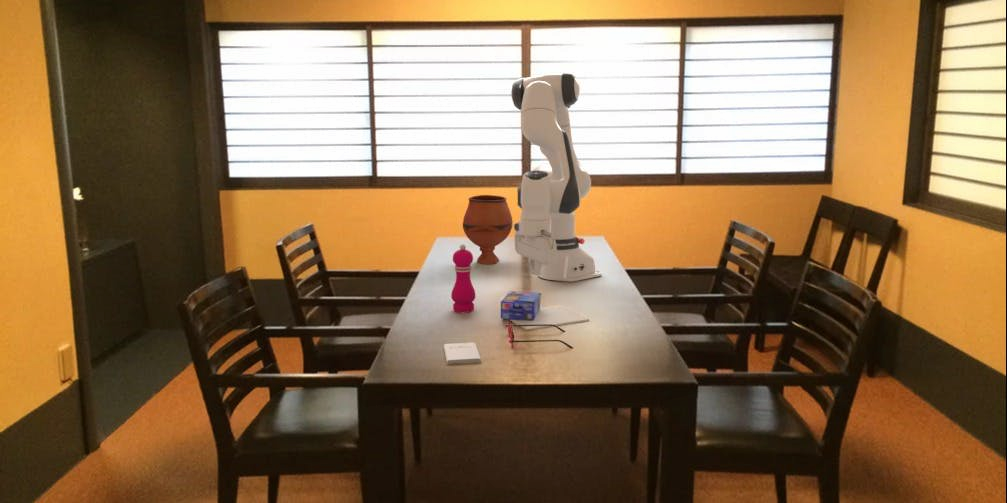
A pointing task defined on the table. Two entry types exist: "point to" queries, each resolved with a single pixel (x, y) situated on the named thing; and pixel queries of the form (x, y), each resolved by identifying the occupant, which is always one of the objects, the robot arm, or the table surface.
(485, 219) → the goblet
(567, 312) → the felt mat
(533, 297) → the ink cartridge box
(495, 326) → the table surface
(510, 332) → the glasses
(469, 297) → the pepper mill
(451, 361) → the external hard drive
